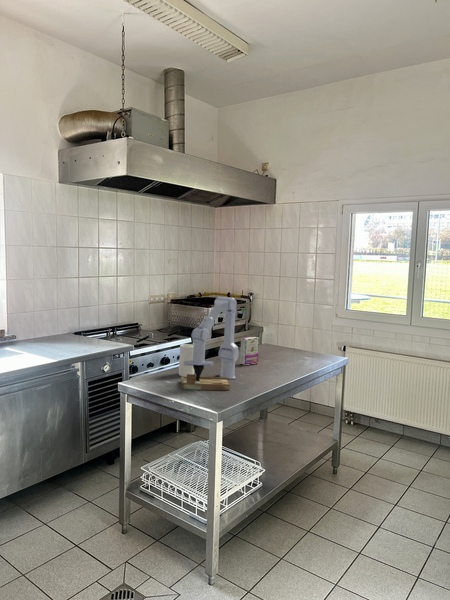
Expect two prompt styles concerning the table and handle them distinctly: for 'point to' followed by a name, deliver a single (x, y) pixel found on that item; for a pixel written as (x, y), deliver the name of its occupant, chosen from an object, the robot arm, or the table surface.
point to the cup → (186, 359)
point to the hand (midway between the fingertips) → (197, 380)
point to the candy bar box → (249, 350)
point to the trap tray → (206, 383)
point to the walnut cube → (191, 378)
